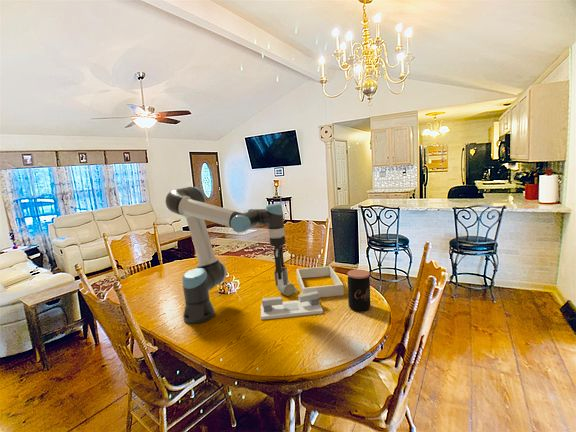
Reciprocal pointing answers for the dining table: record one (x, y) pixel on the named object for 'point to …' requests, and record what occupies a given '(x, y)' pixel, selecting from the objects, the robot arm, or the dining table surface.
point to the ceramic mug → (287, 289)
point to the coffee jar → (359, 290)
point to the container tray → (322, 290)
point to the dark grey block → (285, 276)
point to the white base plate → (291, 306)
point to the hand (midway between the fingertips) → (281, 282)
